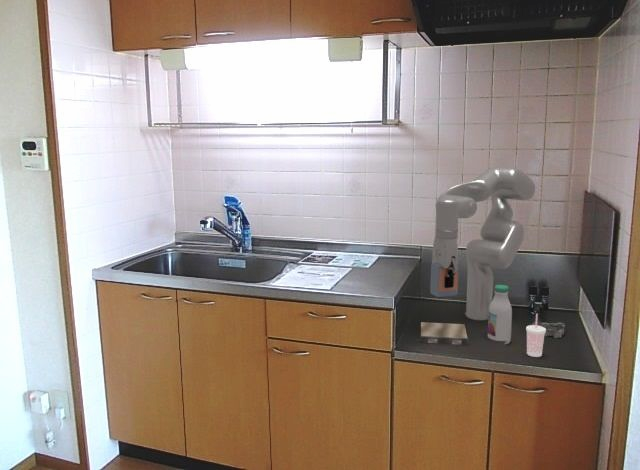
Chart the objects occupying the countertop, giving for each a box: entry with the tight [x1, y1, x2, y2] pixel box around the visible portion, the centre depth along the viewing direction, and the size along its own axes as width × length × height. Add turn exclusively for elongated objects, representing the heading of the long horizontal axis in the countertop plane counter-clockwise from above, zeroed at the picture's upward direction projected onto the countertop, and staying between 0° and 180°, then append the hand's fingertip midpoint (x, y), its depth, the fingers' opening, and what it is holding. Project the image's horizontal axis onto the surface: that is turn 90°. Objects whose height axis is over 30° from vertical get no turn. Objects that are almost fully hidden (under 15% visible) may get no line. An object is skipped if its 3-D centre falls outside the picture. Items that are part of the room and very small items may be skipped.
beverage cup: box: [525, 313, 546, 358], centre depth 183 cm, size 6×6×14 cm
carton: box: [429, 262, 460, 298], centre depth 195 cm, size 8×5×11 cm, turn 108°
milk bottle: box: [487, 284, 513, 345], centre depth 194 cm, size 8×8×20 cm
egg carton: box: [531, 321, 566, 339], centre depth 202 cm, size 11×8×4 cm
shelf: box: [420, 321, 470, 346], centre depth 200 cm, size 16×20×4 cm
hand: (444, 284), depth 196 cm, fingers closed on carton, 5 cm apart
